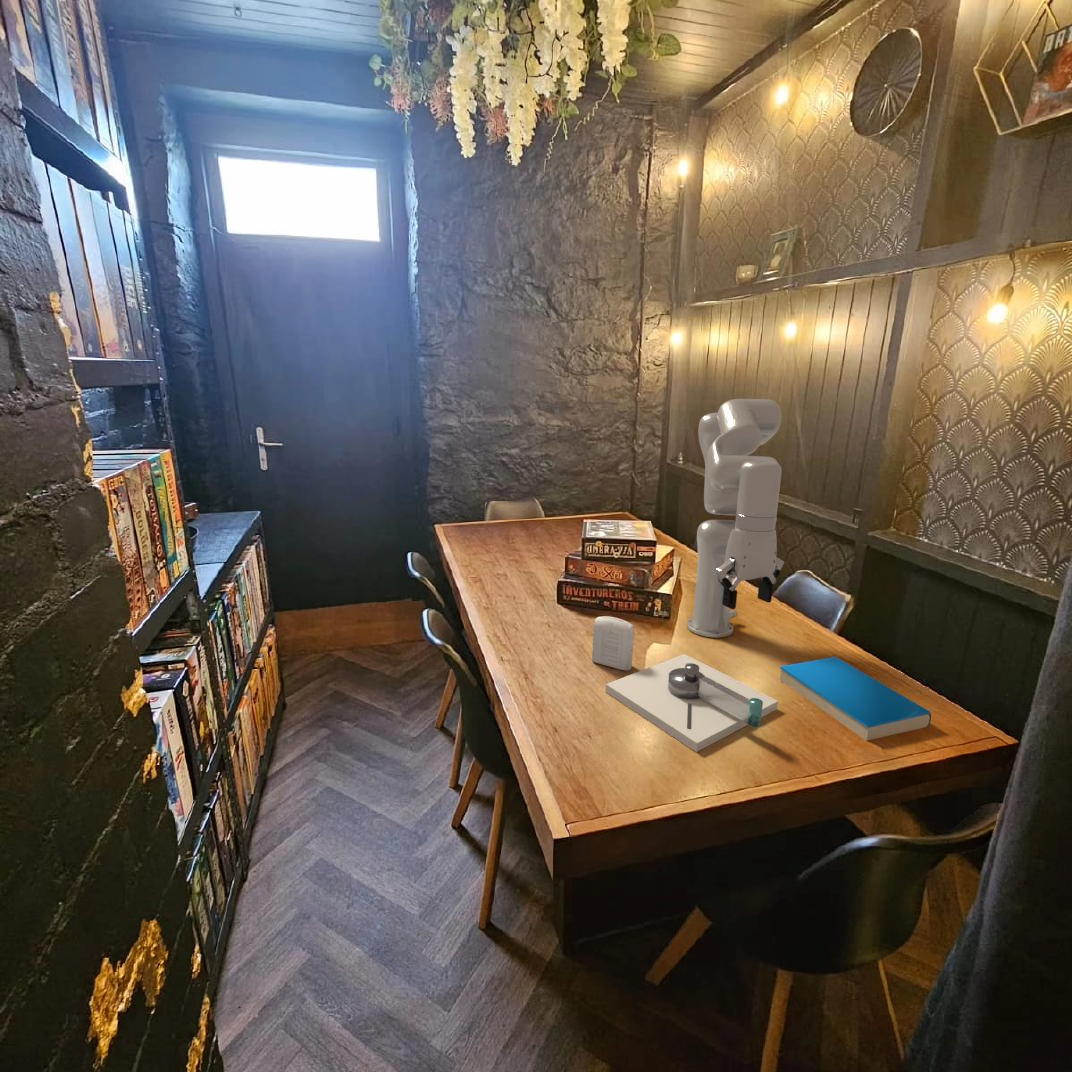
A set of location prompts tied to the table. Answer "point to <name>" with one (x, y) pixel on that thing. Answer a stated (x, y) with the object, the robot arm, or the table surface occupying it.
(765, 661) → the table surface
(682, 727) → the stand base
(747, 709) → the crank handle
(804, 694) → the book
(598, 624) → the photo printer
